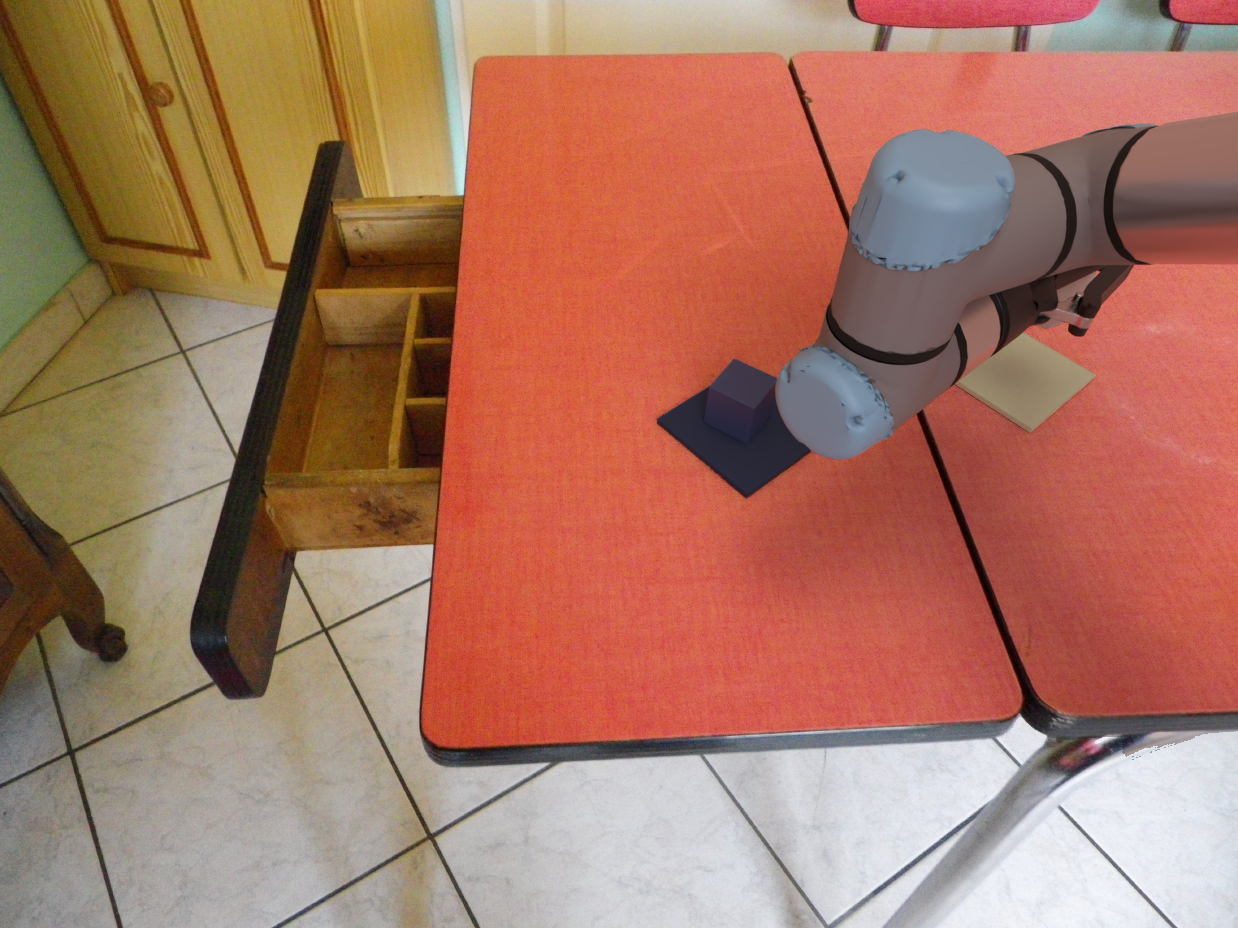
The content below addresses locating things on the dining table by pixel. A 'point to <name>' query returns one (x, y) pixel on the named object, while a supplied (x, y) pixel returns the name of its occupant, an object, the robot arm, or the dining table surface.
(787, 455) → the dark mat
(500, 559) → the dining table surface
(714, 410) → the navy block
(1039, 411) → the light mat
